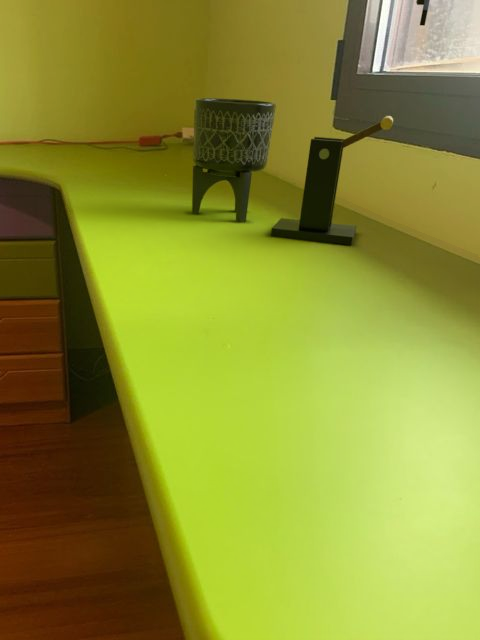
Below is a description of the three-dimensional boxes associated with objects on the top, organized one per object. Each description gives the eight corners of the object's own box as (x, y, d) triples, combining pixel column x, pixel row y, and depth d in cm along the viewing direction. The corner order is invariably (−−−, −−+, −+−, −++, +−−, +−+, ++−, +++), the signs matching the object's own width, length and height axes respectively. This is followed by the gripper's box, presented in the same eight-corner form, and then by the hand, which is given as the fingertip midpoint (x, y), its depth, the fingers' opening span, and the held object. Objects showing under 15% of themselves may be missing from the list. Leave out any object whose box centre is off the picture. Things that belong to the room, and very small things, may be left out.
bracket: (355, 233, 109) (371, 139, 103) (351, 245, 102) (368, 144, 95) (280, 225, 112) (291, 133, 106) (270, 236, 105) (282, 138, 98)
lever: (395, 127, 100) (390, 110, 99) (395, 129, 95) (389, 112, 94) (322, 162, 105) (316, 147, 104) (317, 166, 100) (311, 150, 99)
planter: (278, 221, 115) (292, 104, 107) (210, 224, 110) (220, 102, 102) (237, 206, 125) (248, 99, 117) (174, 209, 120) (180, 97, 112)
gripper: (530, -68, 111) (515, 42, 105) (401, -68, 116) (379, 37, 110) (546, -117, 104) (531, -2, 98) (408, -115, 109) (385, -6, 103)
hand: (451, 18), depth 104 cm, fingers open, 7 cm apart
